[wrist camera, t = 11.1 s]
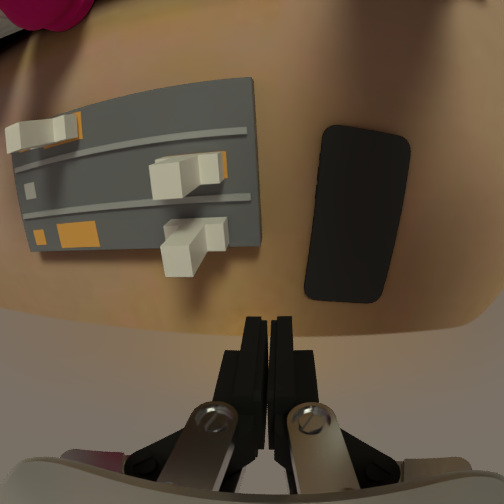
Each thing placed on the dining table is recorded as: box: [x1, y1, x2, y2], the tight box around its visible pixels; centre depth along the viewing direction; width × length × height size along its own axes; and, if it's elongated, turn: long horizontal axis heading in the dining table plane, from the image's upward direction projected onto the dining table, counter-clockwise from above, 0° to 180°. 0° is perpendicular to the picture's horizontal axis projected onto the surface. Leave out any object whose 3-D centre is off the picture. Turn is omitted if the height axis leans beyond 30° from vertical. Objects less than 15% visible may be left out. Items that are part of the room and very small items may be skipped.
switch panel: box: [12, 77, 262, 252], centre depth 23 cm, size 24×13×2 cm, turn 93°
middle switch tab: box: [149, 152, 224, 200], centre depth 19 cm, size 4×2×6 cm, turn 93°
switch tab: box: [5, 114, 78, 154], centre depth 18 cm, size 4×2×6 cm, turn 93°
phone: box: [304, 125, 411, 303], centre depth 24 cm, size 7×1×15 cm
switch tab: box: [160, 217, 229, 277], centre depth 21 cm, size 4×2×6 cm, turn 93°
